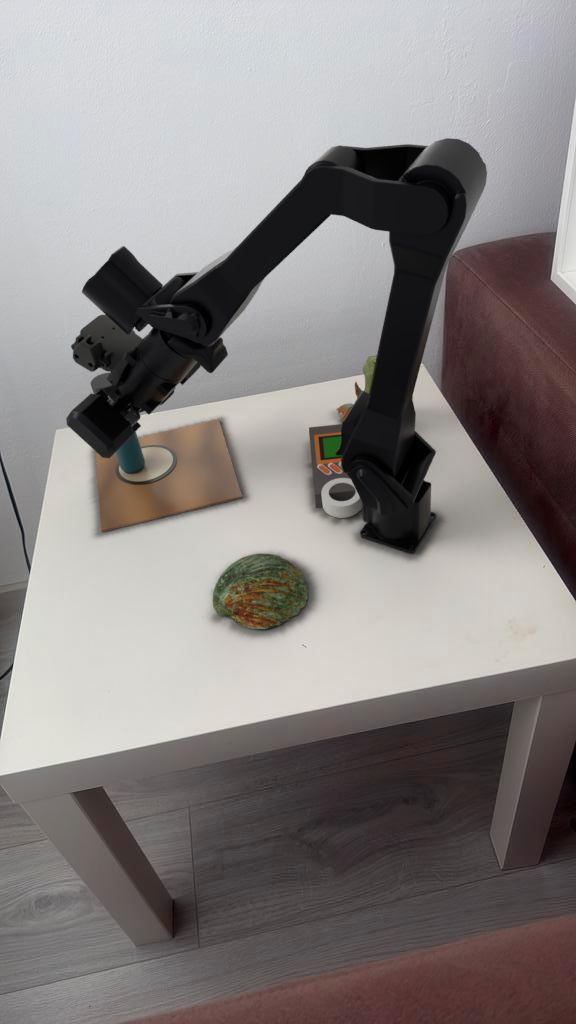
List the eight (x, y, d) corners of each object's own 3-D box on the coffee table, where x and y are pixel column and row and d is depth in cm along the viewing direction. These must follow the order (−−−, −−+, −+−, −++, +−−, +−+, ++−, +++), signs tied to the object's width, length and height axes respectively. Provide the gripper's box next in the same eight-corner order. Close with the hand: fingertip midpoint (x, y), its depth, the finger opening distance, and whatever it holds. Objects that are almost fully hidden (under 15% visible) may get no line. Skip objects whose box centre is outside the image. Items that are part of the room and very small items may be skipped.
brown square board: (219, 420, 101) (218, 418, 100) (242, 497, 88) (241, 494, 88) (95, 449, 99) (94, 446, 99) (101, 532, 86) (100, 529, 86)
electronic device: (315, 507, 82) (308, 423, 92) (317, 525, 84) (310, 441, 94) (376, 501, 81) (361, 417, 92) (376, 519, 83) (362, 435, 94)
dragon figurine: (397, 438, 91) (388, 384, 94) (343, 432, 89) (335, 377, 92) (375, 463, 97) (367, 412, 100) (323, 458, 94) (317, 406, 98)
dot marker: (145, 473, 93) (117, 386, 84) (119, 477, 93) (88, 389, 84) (148, 457, 95) (120, 370, 87) (122, 460, 96) (92, 374, 87)
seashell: (318, 577, 71) (222, 617, 69) (323, 607, 74) (231, 646, 72) (280, 522, 79) (192, 556, 77) (286, 551, 81) (201, 584, 79)
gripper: (157, 264, 83) (106, 338, 95) (50, 346, 71) (8, 419, 83) (228, 335, 85) (170, 399, 97) (136, 427, 73) (83, 487, 85)
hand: (111, 423), depth 90 cm, fingers closed on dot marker, 3 cm apart
